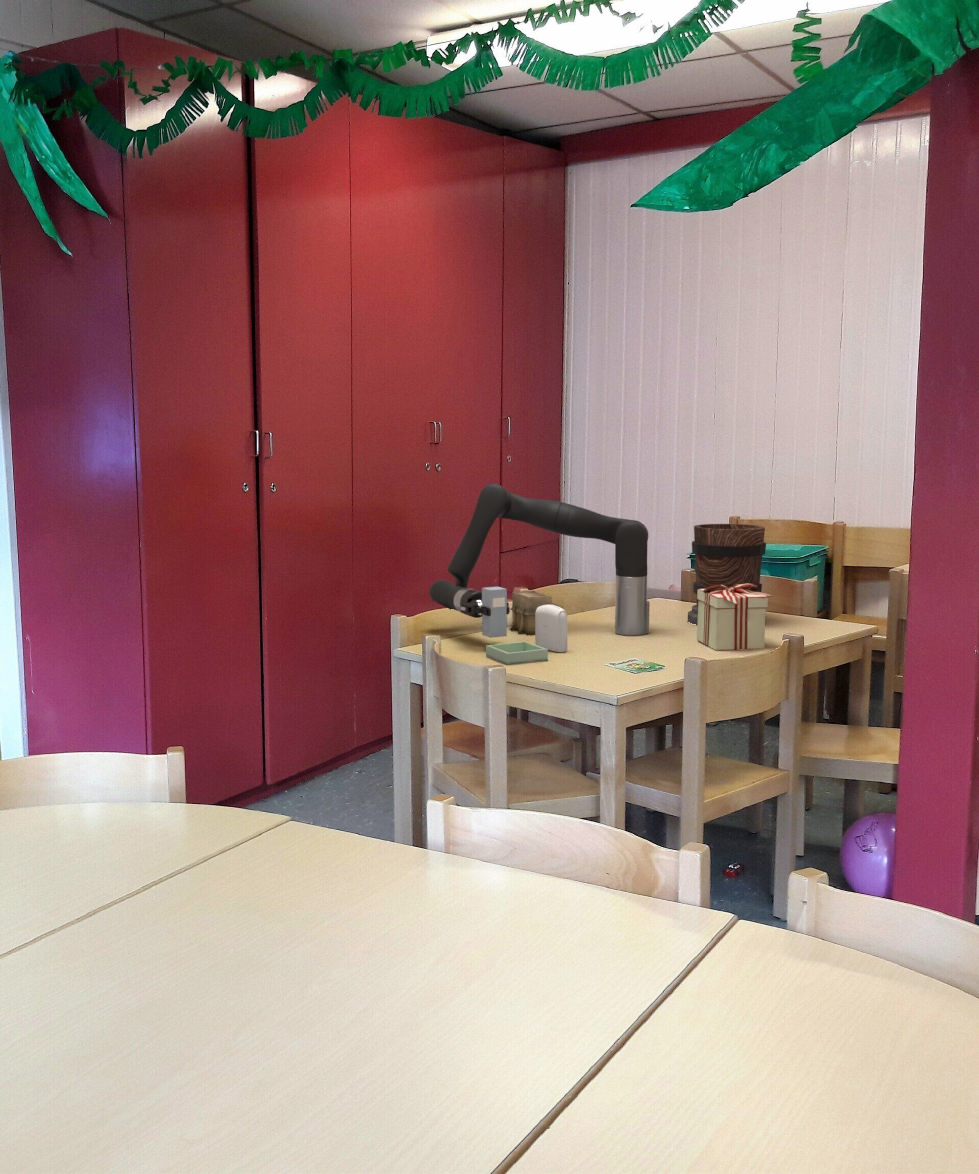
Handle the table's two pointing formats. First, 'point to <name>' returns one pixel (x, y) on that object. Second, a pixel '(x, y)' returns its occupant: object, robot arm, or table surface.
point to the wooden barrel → (726, 557)
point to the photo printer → (551, 628)
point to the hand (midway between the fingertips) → (498, 611)
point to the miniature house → (527, 610)
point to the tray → (516, 653)
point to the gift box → (732, 617)
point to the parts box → (495, 612)
